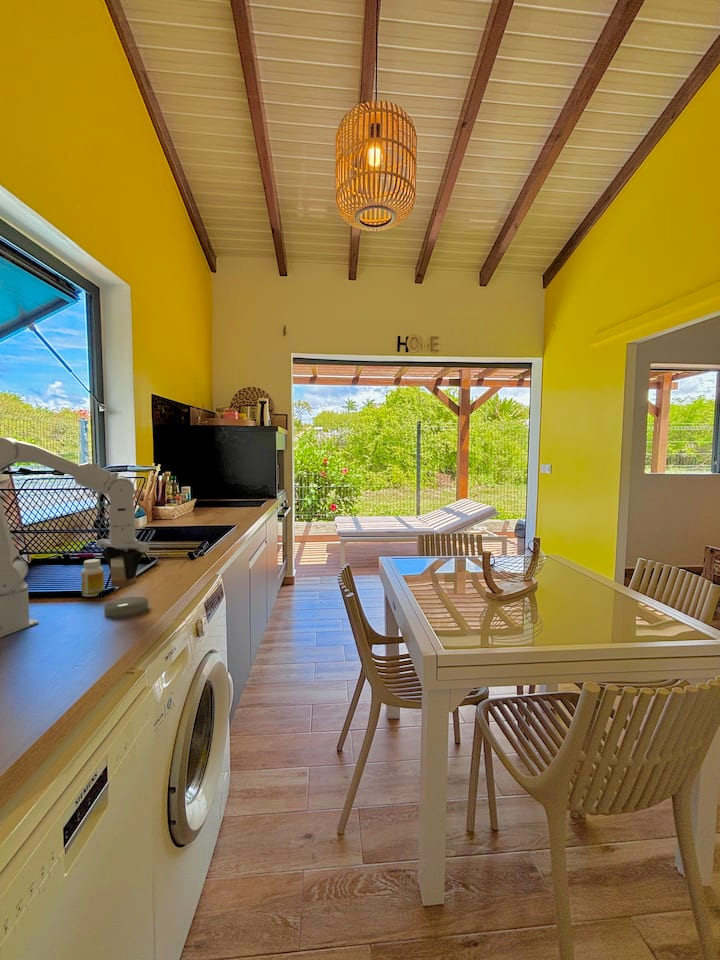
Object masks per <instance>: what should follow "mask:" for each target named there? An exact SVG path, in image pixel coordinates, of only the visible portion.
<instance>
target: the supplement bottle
mask: <svg viewBox="0 0 720 960" xmlns="http://www.w3.org/2000/svg"><path fill="white" fill-rule="evenodd" d="M83 567H84V568H82V570H81V572H80V573H81V575H80V577H81V596H83V597H86V598H87V597H88V598H90V597H98V596H99V595H98V594H99V593H100V592H102V591H103V590H104V591H105V582H104V580H105V579H104V578H105V577H104V568H103V567H102V566H101V559H100V558H98V559H97V558H92V559H86V560H84V561H83ZM97 595H98V596H97Z"/></svg>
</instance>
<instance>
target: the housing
mask: <svg viewBox="0 0 720 960" xmlns="http://www.w3.org/2000/svg"><path fill="white" fill-rule="evenodd" d="M110 577H111V579H110V582H111V584H110V585H111V587H116V588H123V589H125V588H128V587H129V586H133V585H135V584H137V574H136V575H135V577H134V578H132V579H127V577H126V570H125V564H124V560H123V558H122V556H119V557H116V558H112V559H111V570H110Z"/></svg>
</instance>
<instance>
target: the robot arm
mask: <svg viewBox="0 0 720 960" xmlns="http://www.w3.org/2000/svg"><path fill="white" fill-rule="evenodd" d="M17 463H18V464H24V463H25V464H27V463H36V464H39V465H41V466H44V467H46V468H49V469H51V470H55V471H57V472H61V473H63V474H66V475H68V476H72V477H73V479H74V482H75V484H76V485H78V486H81V487H84V488H86V489H89V490H92V491H94V492H97V493H98V494H101V495H104V494H106V495H108V497H109V506H108V514H109V515H108V521H109V539H108V538H102V539H98V540H97V548H98V549H102V548H105V549H104V550H103V551H101V556H103V558H104V560H105V561H106V562H107V563H106V564H107V565H108V567H109V570H110V571H111V559H112V558H116V557H119V556H122V558H123V560H124V564H125V570H126V577H127V579H132V578H134V577H135V575H136V576H137V572H138V571H137V570H138V566H139V564H140V562H141V560H142V558H143V556H144V554H145V553H147V552H149V551H150V543H148V542H144V541H139V540H138V538H136V519H135V518H136V516H135V512H136V511H135V509H136V508H135V505H134V504H135V499H134V495H135V492H136V489H135V485H134V483H133V482H132V481H131V479H129V478H127V477H126V476H123V475H120V474H119V472H117V471H114V472H111V471H109V470H108V469H107V470H106V469H105V468H102V467H100V463H97V462H93V463H91V462H84V463H80V464H78V463H77V462H74V461H72V460H69V459H68V458H65V457H64V456H61V455H59V454H57V453H54V452H52V451H50V450H47V449H45V448H43V447H41V446H39V445H36V444H32V443H30V442H26V441H22V440H21V441H19V439H18V440H17V439H16V438H14V437H8V436H7V437H6V436H5V437H1V436H0V476H1V475H2V474H3V473H4V472H5V471H6V470H7V469H8V468H9V467H11V466H13V465H15V464H17ZM8 523H9V522H8V520H7V516H6V513H5V508H4V506H3V501H2V498H1V497H0V638H2V637H5V636H7V635H11V634H14V633H16V632H19V631H21V630H23V629H27V628H28V627H31V626H33V625H37V624H39V623H40V621H39V620H37V619H31V618H30V604H29V603H30V602H29V585H28V583H27V582H26V581H25V580H24V579H25V578H26V576H27V575H28V573H29V565H28V563H27V562H26V561H25V560H24V559H23V558H22V557H21V555H20V552H19V550H18V548H17V547H16V546H15V544H14V541H13V538H12V534H11V529H10V526H9V524H8Z"/></svg>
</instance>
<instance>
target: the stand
mask: <svg viewBox="0 0 720 960" xmlns="http://www.w3.org/2000/svg"><path fill="white" fill-rule="evenodd" d="M103 608H104V609H103V610H104V611H103V612H104V613H103V614H104V617H106V618H109V619H127V618H133V617H137V616H139V615H142V614H144V613H146V612H147V611H148V610H149V599H147V598H146V597H143V596H128V597H121V598H116V599H113V600H110V601H107V602H106V603H105V605H104V606H103ZM145 611H146V612H145Z"/></svg>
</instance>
